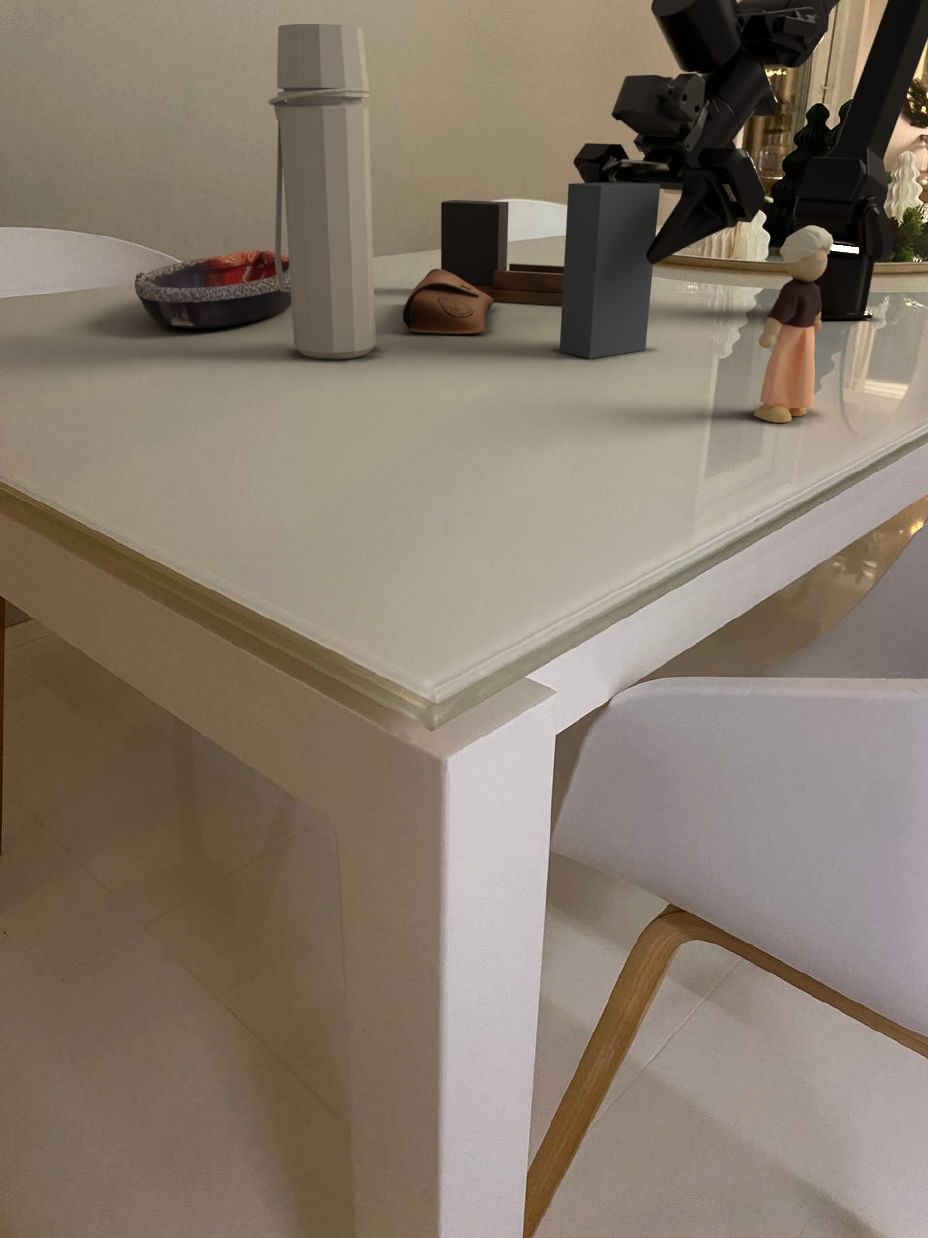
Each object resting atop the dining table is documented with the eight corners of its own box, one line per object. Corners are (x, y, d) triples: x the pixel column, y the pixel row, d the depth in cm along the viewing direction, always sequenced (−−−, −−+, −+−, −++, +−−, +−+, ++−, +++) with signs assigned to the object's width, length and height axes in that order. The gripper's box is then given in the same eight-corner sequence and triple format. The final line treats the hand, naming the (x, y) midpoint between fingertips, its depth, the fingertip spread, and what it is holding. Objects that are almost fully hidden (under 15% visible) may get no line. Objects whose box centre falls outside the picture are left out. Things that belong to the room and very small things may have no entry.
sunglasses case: (490, 330, 97) (455, 266, 95) (428, 366, 99) (392, 304, 96) (495, 300, 113) (465, 246, 111) (441, 332, 115) (411, 279, 113)
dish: (95, 334, 96) (87, 279, 93) (215, 287, 123) (211, 243, 121) (252, 341, 93) (248, 285, 91) (339, 292, 121) (337, 248, 119)
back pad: (614, 342, 95) (627, 181, 89) (645, 350, 92) (660, 183, 86) (559, 351, 91) (568, 183, 85) (589, 359, 88) (601, 185, 82)
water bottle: (392, 348, 91) (386, 30, 80) (348, 365, 85) (334, 21, 74) (306, 339, 95) (289, 32, 84) (257, 354, 88) (231, 24, 77)
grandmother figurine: (795, 429, 69) (827, 231, 63) (740, 421, 70) (766, 227, 65) (824, 406, 75) (855, 223, 69) (772, 399, 76) (799, 219, 71)
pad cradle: (596, 294, 122) (602, 203, 117) (578, 306, 113) (584, 209, 109) (451, 285, 127) (452, 197, 122) (424, 296, 118) (424, 203, 114)
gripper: (596, 43, 90) (495, 179, 89) (764, 32, 77) (649, 191, 76) (649, 141, 98) (557, 267, 97) (810, 146, 85) (706, 292, 84)
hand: (610, 254), depth 88 cm, fingers open, 9 cm apart
